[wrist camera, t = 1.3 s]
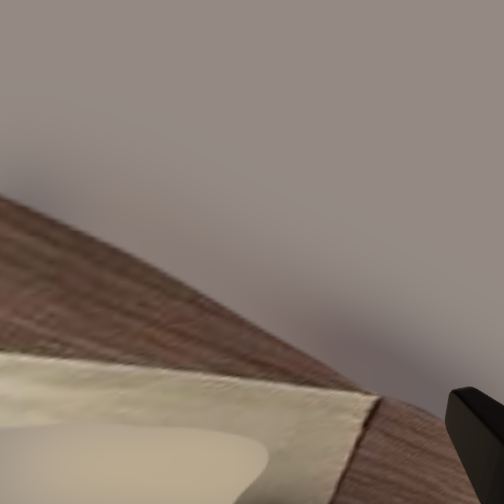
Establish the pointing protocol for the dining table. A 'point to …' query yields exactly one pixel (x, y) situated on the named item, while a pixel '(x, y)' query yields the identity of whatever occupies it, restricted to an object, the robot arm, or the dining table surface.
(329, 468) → the dining table surface
